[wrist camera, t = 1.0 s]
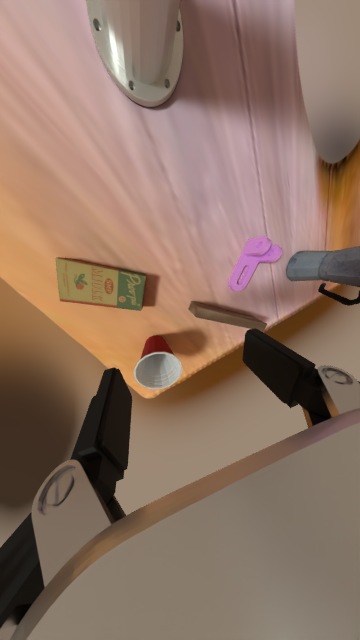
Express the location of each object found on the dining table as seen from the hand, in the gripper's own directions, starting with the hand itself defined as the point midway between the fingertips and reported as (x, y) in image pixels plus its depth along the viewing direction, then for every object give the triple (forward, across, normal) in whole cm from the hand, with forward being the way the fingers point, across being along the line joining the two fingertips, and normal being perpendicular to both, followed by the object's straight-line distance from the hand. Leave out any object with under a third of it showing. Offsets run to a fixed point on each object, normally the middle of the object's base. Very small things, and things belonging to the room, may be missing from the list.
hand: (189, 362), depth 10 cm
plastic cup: (+27, +4, +16) cm, 32 cm away
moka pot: (+28, -45, +2) cm, 53 cm away
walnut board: (+27, -20, +12) cm, 36 cm away
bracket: (+28, -26, -1) cm, 38 cm away
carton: (+28, +10, -2) cm, 30 cm away
